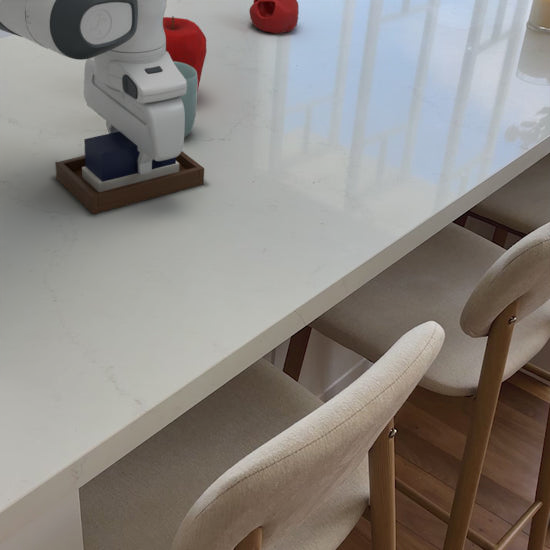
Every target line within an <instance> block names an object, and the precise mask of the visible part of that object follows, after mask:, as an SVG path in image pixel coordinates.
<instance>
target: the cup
mask: <svg viewBox="0 0 550 550" xmlns="http://www.w3.org/2000/svg"><path fill="white" fill-rule="evenodd" d="M173 63H174V64H175V66H176V67H177V69H178V70H179V71H180V73H181V74H182V75H183V77H184V78H185V80H186V83H187V91H186V94H185V95H183V96H180V98H181V100H182V102H183V105H184V111H185V130H184V138H185V137H187V136H188V135H189V134H190V133H191V131H192V130H193V127H194V124H195V121H196V116H197V106H198V92H197V86H198V76H197V71H196V70H195V69H194V68H193V67H191V66H190V65H187V64H185V63H181V62H175V61H173Z"/></svg>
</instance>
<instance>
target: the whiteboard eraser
mask: <svg viewBox="0 0 550 550" xmlns="http://www.w3.org/2000/svg"><path fill="white" fill-rule="evenodd" d="M83 144H84V156H85V167H82V177H83V178H84V179H85V180H86V181H87V182H88V183H89V184H90V185H91V186H92V187H93V188H95V189H96V190H97V191H98V192H102V191H106V190H110V189H113V188H117V187H121V186H125V185H129V184H133V183H137V182H141V181H144V180H148V179H152V178H156V177H160V176H164V175H168V174H172V173H176V172H179V163H178V162H177V161H176V157H175V158H171V159H167V160H163V161H155V160H154V159H153V160H152V171H151V172H150V173H148V174H144V175H141V174H140V173H139V172H137V171H136V170H135V168H134V166H135V164H134V159H136V158H138V157H139V154H140V152H139V151H138V147H137V145H136V144H134V143H133V142H132V141H131V140H130V139H128V138H127V137H126V136H125V135H123V134H122V133H121V132H120V131H119V132H115V133H110V134H109V133H106V134H102V135H96V136H92V137H87V138H84V143H83Z"/></svg>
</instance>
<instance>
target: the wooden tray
mask: <svg viewBox="0 0 550 550" xmlns="http://www.w3.org/2000/svg"><path fill="white" fill-rule="evenodd" d="M176 161H177V162H178V163H179V172H176V173H172V174H168V175H164V176H160V177H156V178H152V179H148V180H144V181H141V182H137V183H133V184H129V185H125V186H121V187H117V188H113V189H110V190H106V191H102V192H98V191H97V190H96V189H95V188H93V187H92V186H91V185H90V184H89V183H88V182H87V181H86V180H85V179H84V178H83V177H82V167H85V155H81V156H77V157H72V158H68V159H64V160H60V161H55V175H56V176H55V177H56V180H57V181H58V182H59V183H60V184H62V186H63V187H64V188H65V189H67V190H68V192H70V194H71V195H73V196H74V197H75V198H76V199H77V200H78V201H79V202H80V203H81V204H82V205H83V206H84V207H85V208H86V209H87V210H88V211H89V212H90V213H91V214H92V215H95V214H99V213H102V212H107V211H110V210H114V209H117V208H121V207H125V206H129V205H133V204H136V203H140V202H144V201H147V200H150V199H154V198H159V197H162V196H165V195H166V196H167V195H169V194H170V195H171V194H174V193H177V192H180V191H185V190H187V189H191V188H194V187H195V188H196V187H199V186H203V185H204V183H205V167H204V166H203V165H201V164H200V163H198V162H197V161H196V160H194V159H193V158H192V157H191V156H189V155H188V154H186V153H185V152H184V151H183V150H182V152H181V153H180V155H179V156H177V157H176Z"/></svg>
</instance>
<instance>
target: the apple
mask: <svg viewBox="0 0 550 550" xmlns="http://www.w3.org/2000/svg"><path fill="white" fill-rule="evenodd" d="M163 28H164V32H165V36H166V51H167V52H168V53H169V55H170V57H171V59H172V61H175V62H181V63H185V64H187V65H190V66H191V67H193V68H194V69H195V70H196V71H197V76H198V86H197V93H198V91H199V87H200V83H201V77H202V74H203V73H202V72H203V67H204V65H205V64H204V63H205V60H206V56H207V37H206V35H205V33H204V32H203V31H202V29H201V28H200V26H199V25H198V24H197V23H195V22H194V21H193V20H190V19H188V18H180V17H175V16H173V15H172V16H171V17H169V16H163Z"/></svg>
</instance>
